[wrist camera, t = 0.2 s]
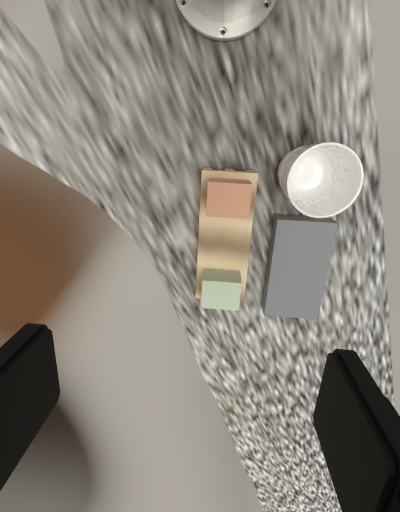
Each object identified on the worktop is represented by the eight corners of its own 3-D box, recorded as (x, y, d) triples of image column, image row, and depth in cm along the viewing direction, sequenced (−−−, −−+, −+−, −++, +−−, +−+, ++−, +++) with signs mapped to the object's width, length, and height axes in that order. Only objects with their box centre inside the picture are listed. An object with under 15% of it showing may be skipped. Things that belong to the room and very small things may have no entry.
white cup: (317, 129, 40) (346, 126, 31) (341, 182, 42) (374, 195, 33) (262, 161, 42) (274, 168, 33) (288, 211, 44) (305, 230, 35)
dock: (274, 214, 44) (277, 219, 41) (330, 217, 44) (338, 223, 41) (261, 305, 50) (264, 315, 47) (311, 309, 49) (317, 319, 47)
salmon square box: (209, 177, 38) (207, 181, 35) (249, 179, 38) (252, 184, 34) (207, 209, 40) (205, 216, 36) (246, 211, 40) (248, 219, 36)
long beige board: (203, 166, 43) (201, 170, 38) (254, 169, 43) (258, 173, 38) (198, 282, 49) (195, 298, 45) (241, 286, 49) (243, 301, 44)
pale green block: (204, 268, 43) (202, 280, 39) (239, 270, 43) (241, 283, 39) (202, 293, 44) (200, 307, 41) (237, 296, 44) (238, 310, 40)
